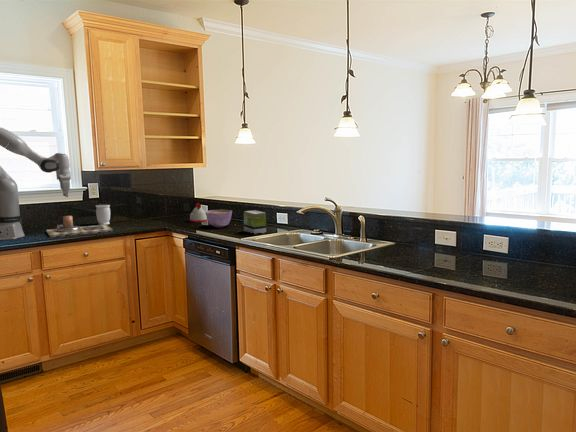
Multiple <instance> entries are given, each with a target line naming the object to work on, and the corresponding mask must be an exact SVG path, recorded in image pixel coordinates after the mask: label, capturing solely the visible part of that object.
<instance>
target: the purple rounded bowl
mask: <svg viewBox="0 0 576 432" xmlns="http://www.w3.org/2000/svg"><path fill="white" fill-rule="evenodd" d="M205 212H206V216H207V222H208V224H209V225H210V226H213V227H214V228H225V227H226V226H228V225H229V224H230V222H231V219H232V214H233V210H230V209H229V210H228V209H211V210H207V211H205Z"/></svg>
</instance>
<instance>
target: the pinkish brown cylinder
mask: <svg viewBox="0 0 576 432" xmlns="http://www.w3.org/2000/svg"><path fill="white" fill-rule="evenodd" d="M73 219H74V218H73V215H64V216H63V215H62V221H63V226H60V228H73V226H74V221H73Z"/></svg>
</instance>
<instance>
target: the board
mask: <svg viewBox="0 0 576 432" xmlns="http://www.w3.org/2000/svg"><path fill="white" fill-rule="evenodd" d="M108 231H111V232H114V229H113V228H112V227H110V226H109V225H108V224H107V225H99V224H97V225H88V226H87V225H85V226H80V230H79V231H74V232H57V228H53V229H52V228H51V229H46V234H47V235H48V236H49V238H57V237H56V236H59V237H66V236H65V235H69V236H77V234H80V235H87V234H88V235H90V234H99V233H98V232H101V233H109V232H108ZM89 233H90V234H89Z"/></svg>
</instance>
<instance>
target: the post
mask: <svg viewBox="0 0 576 432" xmlns="http://www.w3.org/2000/svg"><path fill="white" fill-rule="evenodd" d="M60 226H64V224H62V223H60V224H56V229H57V232H74V231H79V230H80V227H81V226H79V225H73V228H60Z"/></svg>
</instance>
